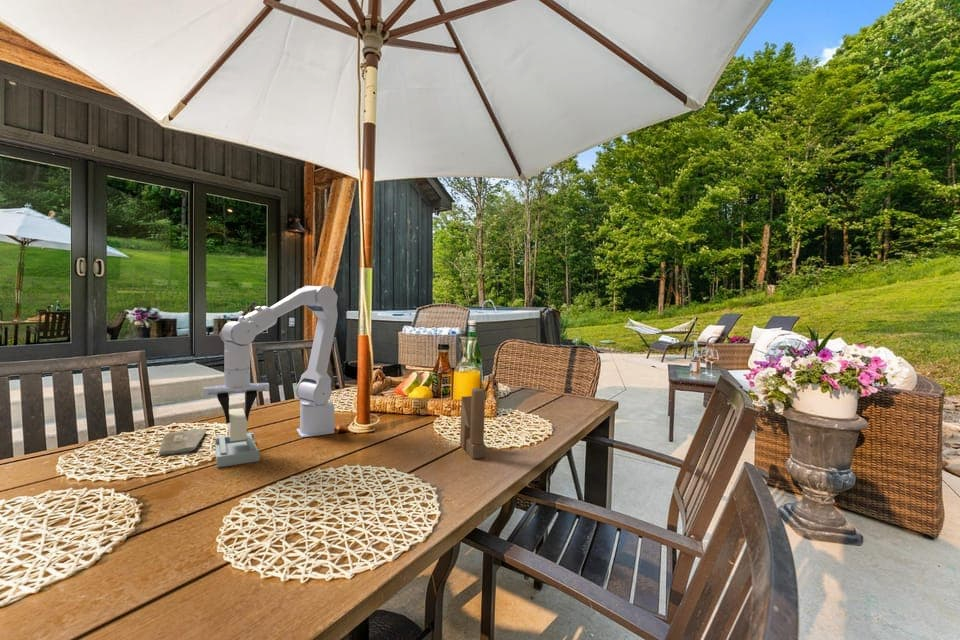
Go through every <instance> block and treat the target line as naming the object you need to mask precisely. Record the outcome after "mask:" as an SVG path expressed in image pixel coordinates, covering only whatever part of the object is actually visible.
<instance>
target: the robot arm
mask: <svg viewBox="0 0 960 640" xmlns="http://www.w3.org/2000/svg"><path fill="white" fill-rule="evenodd" d="M338 298H339V296H338V294H337V293H336V291H335V290H334V289H333V288H332V286H330V285H323V286H322V285H310V284H309V285H304V286H303V287H301V288H297V289H296V290H295V291H294V292H292V293H291V294H289V295H288V296H286V297H284V298H282V299H281V300H279V301H278V302H277V303H276V302H275V304H273V305H271V306H266V305H263V306H260V305H258V306H256V307H254V308H253V309H254V310H253V311H251V312H249V313H247V314H245V315H240V316H238V318H237V321H236V320H235V321H233V320H231V321H228V322H226V323H225V324H224V325H223V327H222V328H221V331H220V332H219V333H218V334H219V337H220V339H221V341H223V344H224V346H223V347H224V350H223V351H224V352H223V353H224V363H223V364H224V365H223V366H224V367H223V368H224V370H223V371H224V372H223V375H224V376H223V383H224V384H221V385H214V386H213V385H211V386H203V395H202V397H209V396H216V397H217V400H218V402H219V404H220V406H221V408H222V410H223V413H224V416H225V423H226V424H228V423H229V409H230V394H243V393H244V412H245V415H246V418H247V422H248V421H249V416H250V413H251V410H252V407H253V404H254V403H255V401H256V399H257V398H258V397H257V396H258V392H270V383H269V382H253V383H252V382H251V343H252V342H253V341H254V340H255V338H256V336H258V335H260V333H263V332H264V331H266V330H268V329H270V328H271V327H273V326H275V325H276V324H277V322H278V318H279V317H282V316H283V315H285V314H287V313H289V312H291V311H293V310H295V309H297V308H299V307H302V306H305V307H306V308H307V309H308V310H310V311H312V312H313V314H314V315H315V316H316V318H317V321H316V325H315V326H316V327H315V332H314V335H313V336H314V337H313V341H312V347H311V350H310V351H311V352H310V356H309V360H308V364H307V365H308V366H307V370H305V371H304V372H303V373H302V374H301V375H300V379H299V382H297V385H296V387H295V391H294V392H295V396H296V397H297V398H298V400H299V403H300V406H299V407H300V408H299V412H300V414H299V418H300V419H299V428H296V432H297V433H298V435H299V436H300V438H308V437H314V436H316V437H317V436H323V435H330V434H335V432H336V431H335V405H334V403H333V402H332V401H329V400H331V397H332V394H333V393H332V392H333V391H332V379H331V376H330V375H329V374H328V367H329V363H330V357H331V353H332V347H333V342H334V337H335V332H336V327H337V323H338V317H339V314H338V313H339V312H338V308H337V307H338V306H337V303H338Z"/></svg>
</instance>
